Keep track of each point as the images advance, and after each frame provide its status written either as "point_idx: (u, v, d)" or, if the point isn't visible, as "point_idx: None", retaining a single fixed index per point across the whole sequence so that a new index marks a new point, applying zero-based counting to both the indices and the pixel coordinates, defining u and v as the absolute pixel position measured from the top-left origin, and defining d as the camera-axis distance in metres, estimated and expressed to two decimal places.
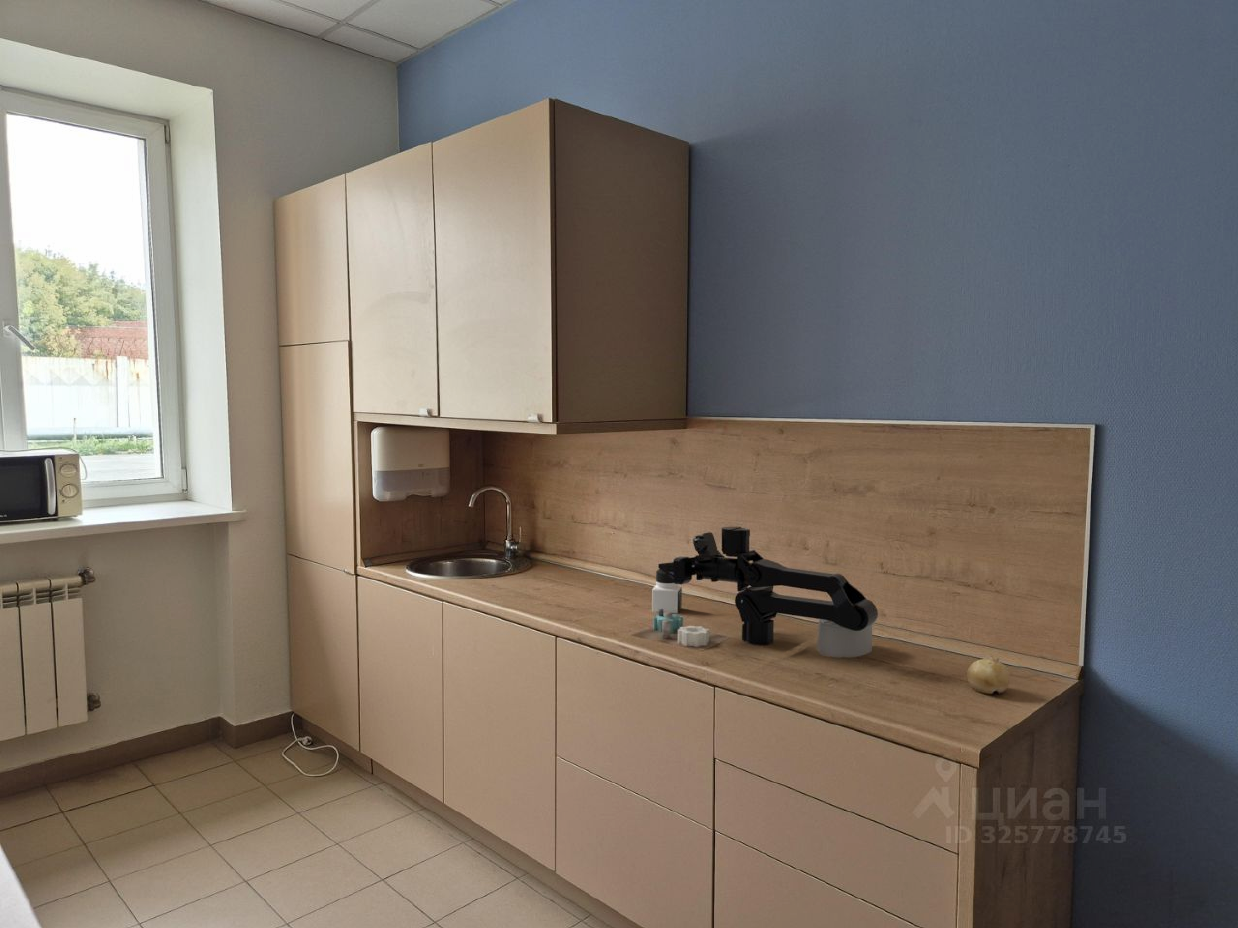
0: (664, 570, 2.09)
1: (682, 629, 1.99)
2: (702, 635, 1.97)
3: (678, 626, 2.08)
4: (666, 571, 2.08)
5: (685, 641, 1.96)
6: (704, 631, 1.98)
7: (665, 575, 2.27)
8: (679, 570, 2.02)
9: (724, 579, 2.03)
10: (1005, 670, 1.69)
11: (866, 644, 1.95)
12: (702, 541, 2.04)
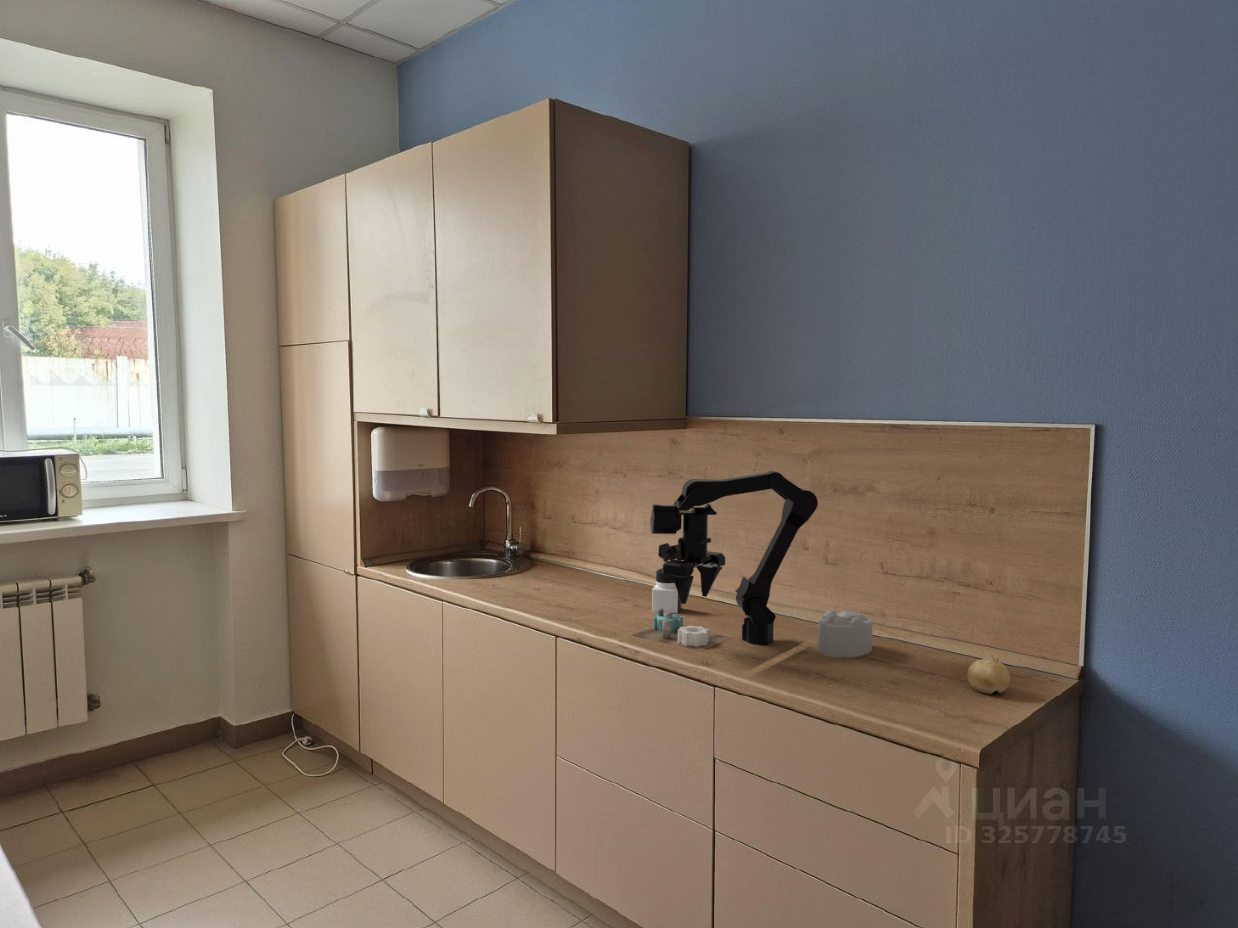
0: (684, 595, 1.94)
1: (682, 629, 1.99)
2: (702, 635, 1.97)
3: (678, 626, 2.08)
4: (684, 592, 1.93)
5: (685, 641, 1.96)
6: (704, 631, 1.98)
7: (665, 575, 2.27)
8: (671, 567, 1.91)
9: (705, 529, 1.96)
10: (1005, 670, 1.69)
11: (866, 644, 1.95)
12: (660, 546, 1.99)
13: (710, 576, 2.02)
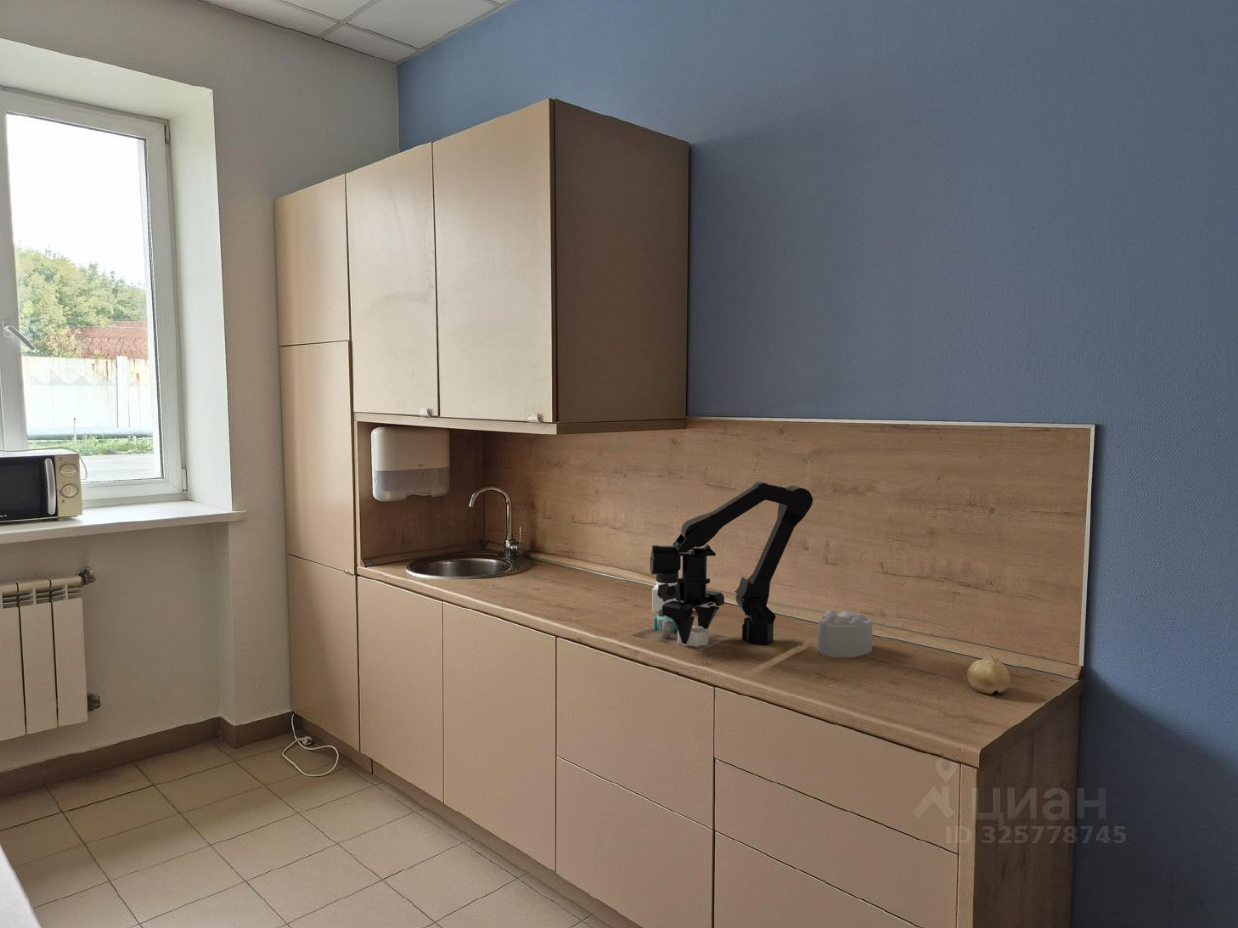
0: (685, 635, 1.95)
1: None
2: (702, 635, 1.97)
3: None
4: (685, 632, 1.95)
5: None
6: (704, 631, 1.98)
7: (665, 575, 2.27)
8: (670, 609, 1.92)
9: (704, 570, 1.97)
10: (1005, 670, 1.69)
11: (866, 644, 1.95)
12: (659, 587, 1.99)
13: (707, 616, 2.02)
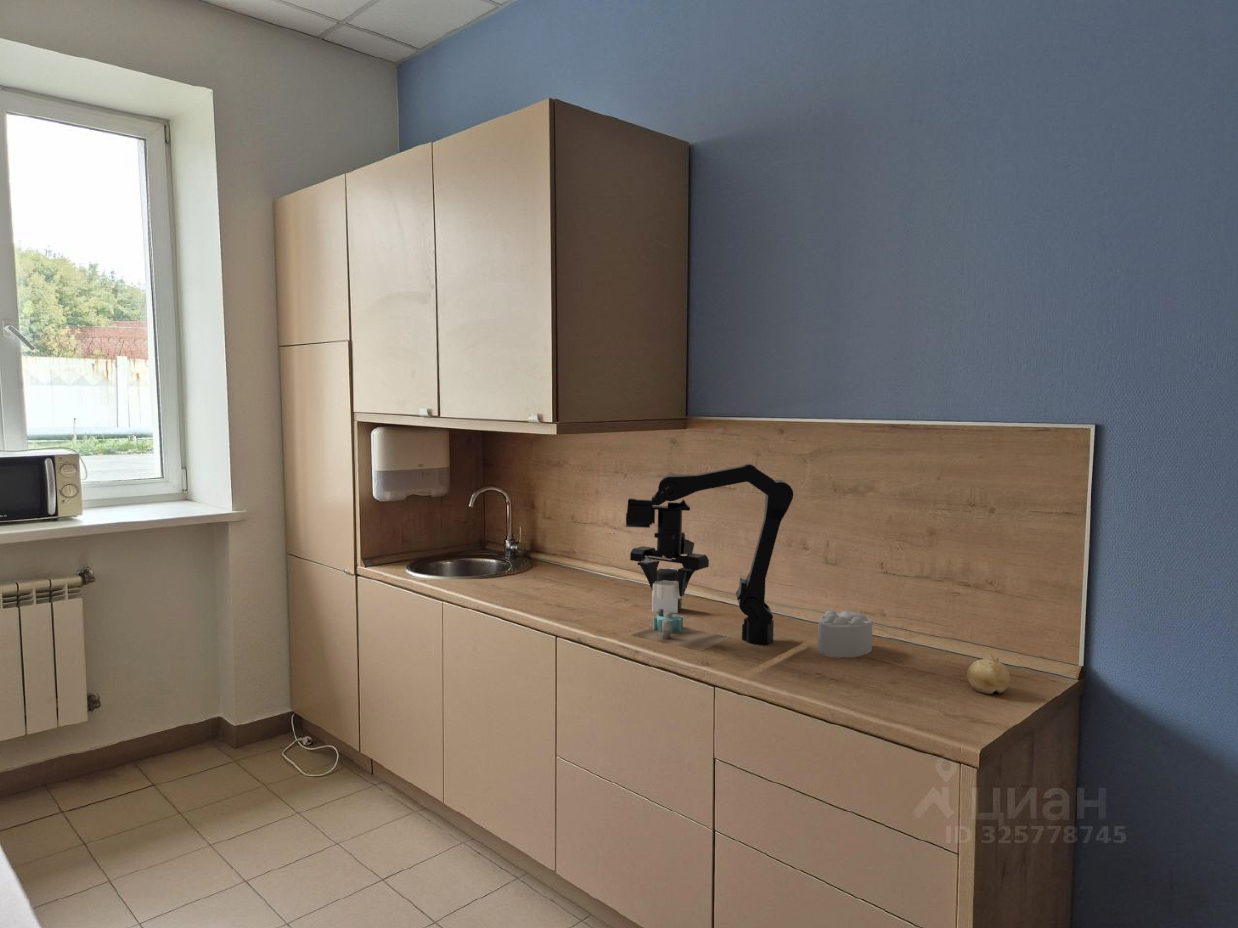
0: None
1: (667, 581, 2.04)
2: None
3: (678, 626, 2.08)
4: None
5: None
6: (663, 585, 1.99)
7: (665, 575, 2.27)
8: None
9: (678, 524, 1.99)
10: (1005, 670, 1.69)
11: (866, 644, 1.95)
12: None
13: None
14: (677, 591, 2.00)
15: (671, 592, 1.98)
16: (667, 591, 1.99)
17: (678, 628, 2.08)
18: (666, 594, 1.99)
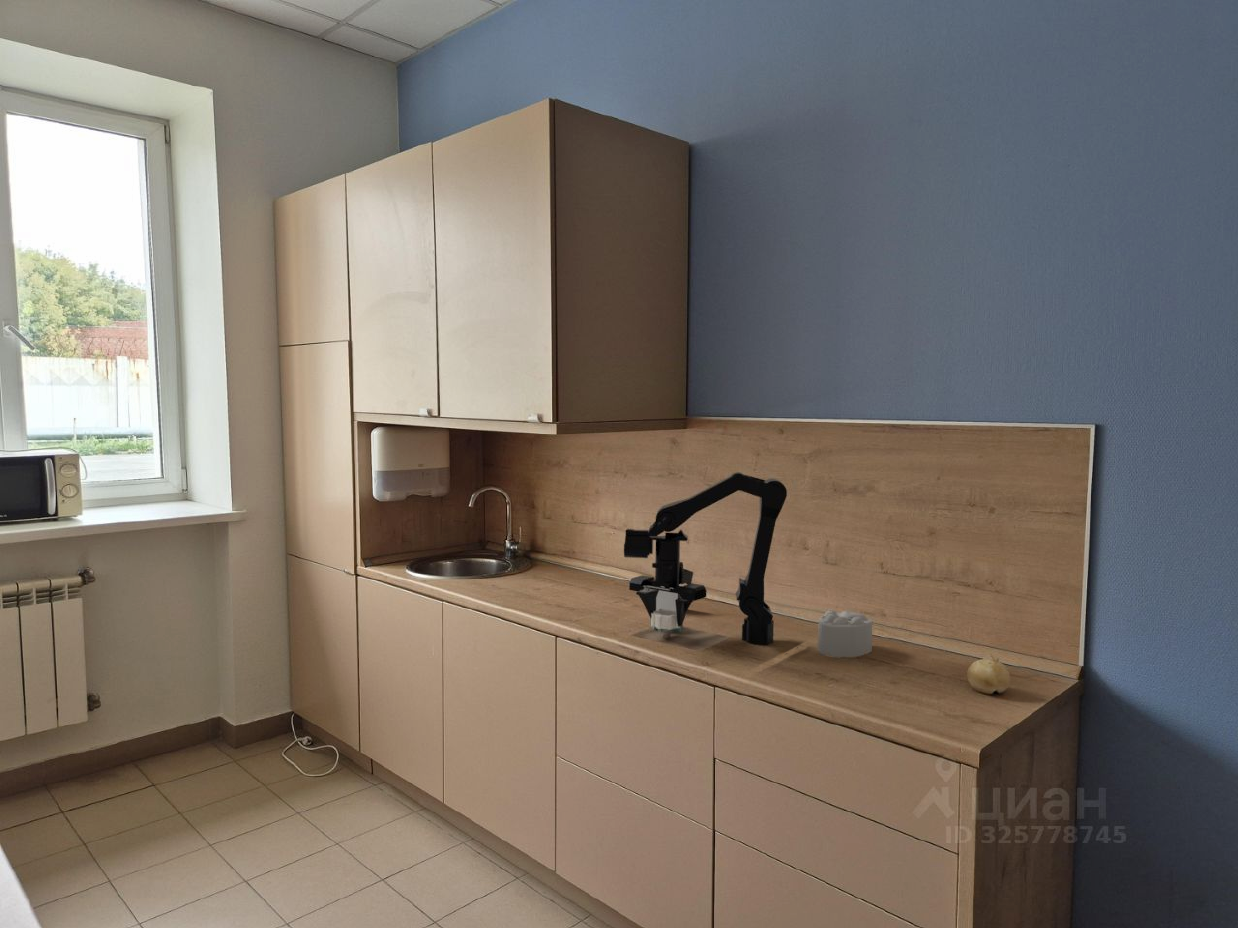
0: None
1: (666, 610, 2.05)
2: (657, 617, 2.01)
3: None
4: None
5: None
6: (661, 615, 2.00)
7: None
8: None
9: (676, 554, 1.99)
10: (1005, 670, 1.69)
11: (866, 644, 1.95)
12: None
13: None
14: (675, 621, 2.00)
15: (669, 622, 1.99)
16: (665, 621, 2.00)
17: (678, 628, 2.08)
18: (664, 624, 2.00)
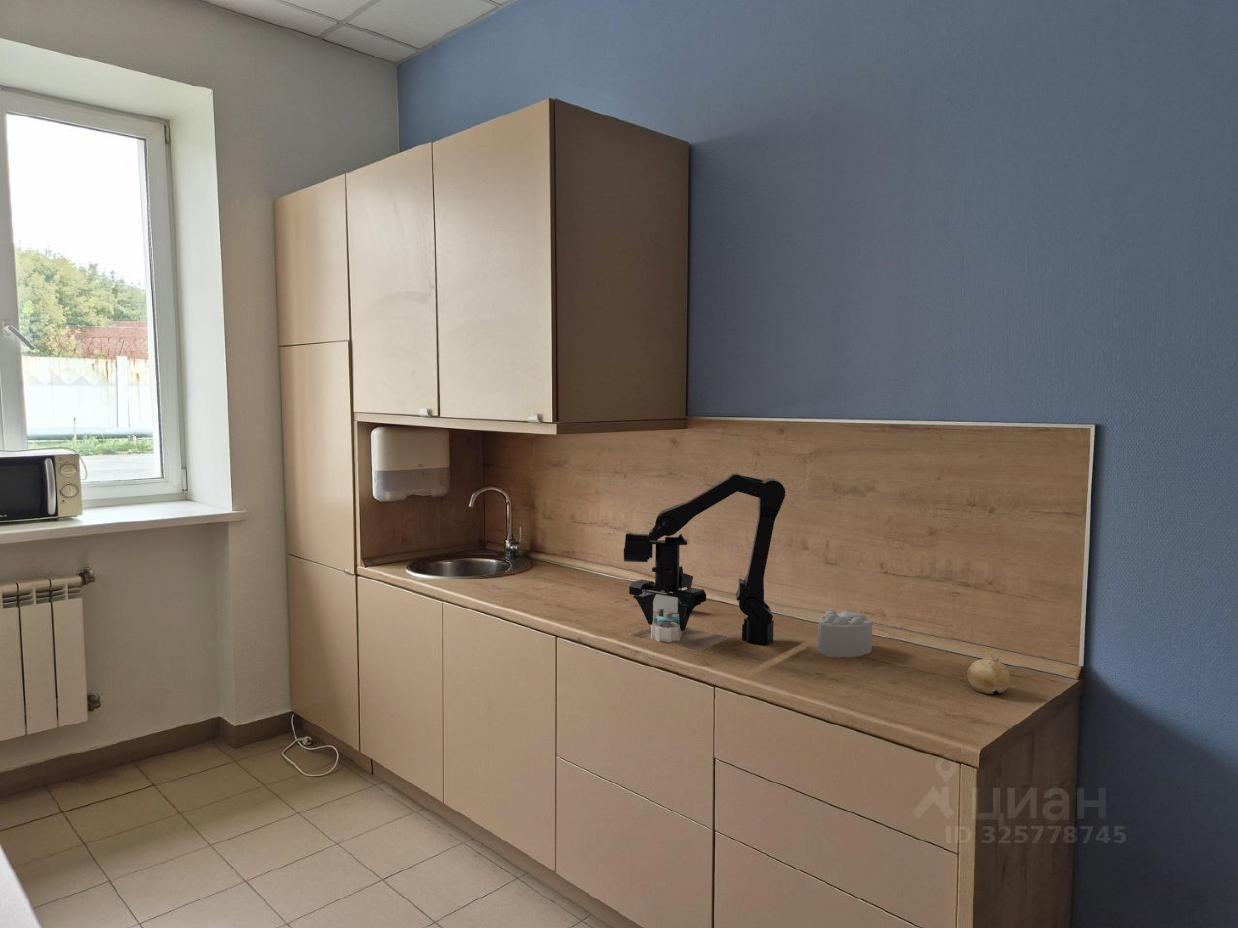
0: None
1: None
2: None
3: None
4: None
5: None
6: (661, 628, 2.00)
7: None
8: None
9: (676, 558, 1.99)
10: (1005, 670, 1.69)
11: (866, 644, 1.95)
12: None
13: None
14: (675, 633, 2.01)
15: (669, 635, 1.99)
16: (665, 634, 2.00)
17: None
18: (664, 637, 2.00)
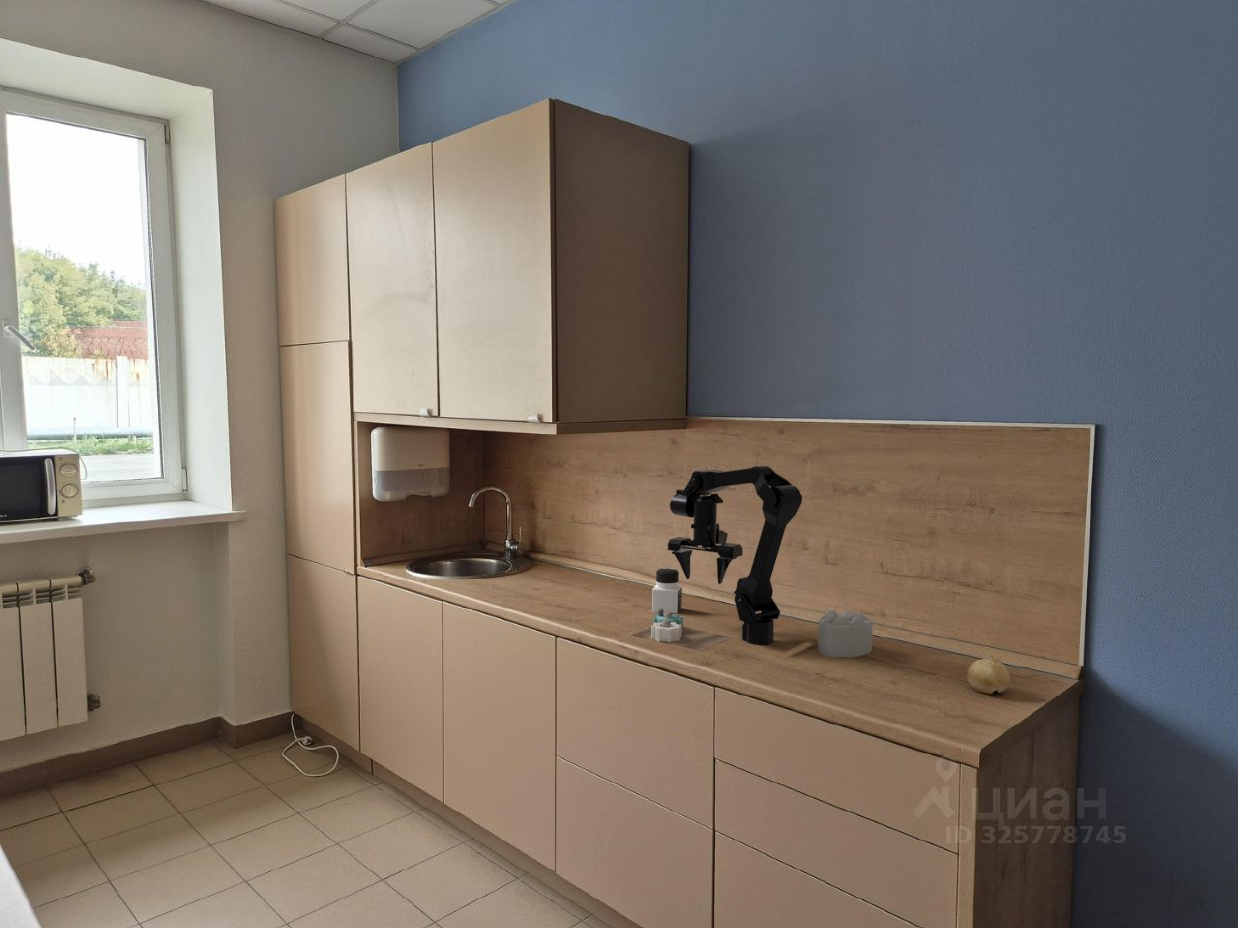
0: None
1: None
2: None
3: None
4: None
5: None
6: (661, 628, 2.00)
7: (665, 575, 2.27)
8: None
9: (705, 516, 2.11)
10: (1005, 670, 1.69)
11: (866, 644, 1.95)
12: None
13: None
14: (675, 633, 2.01)
15: (669, 635, 1.99)
16: (665, 634, 2.00)
17: None
18: (664, 637, 2.00)
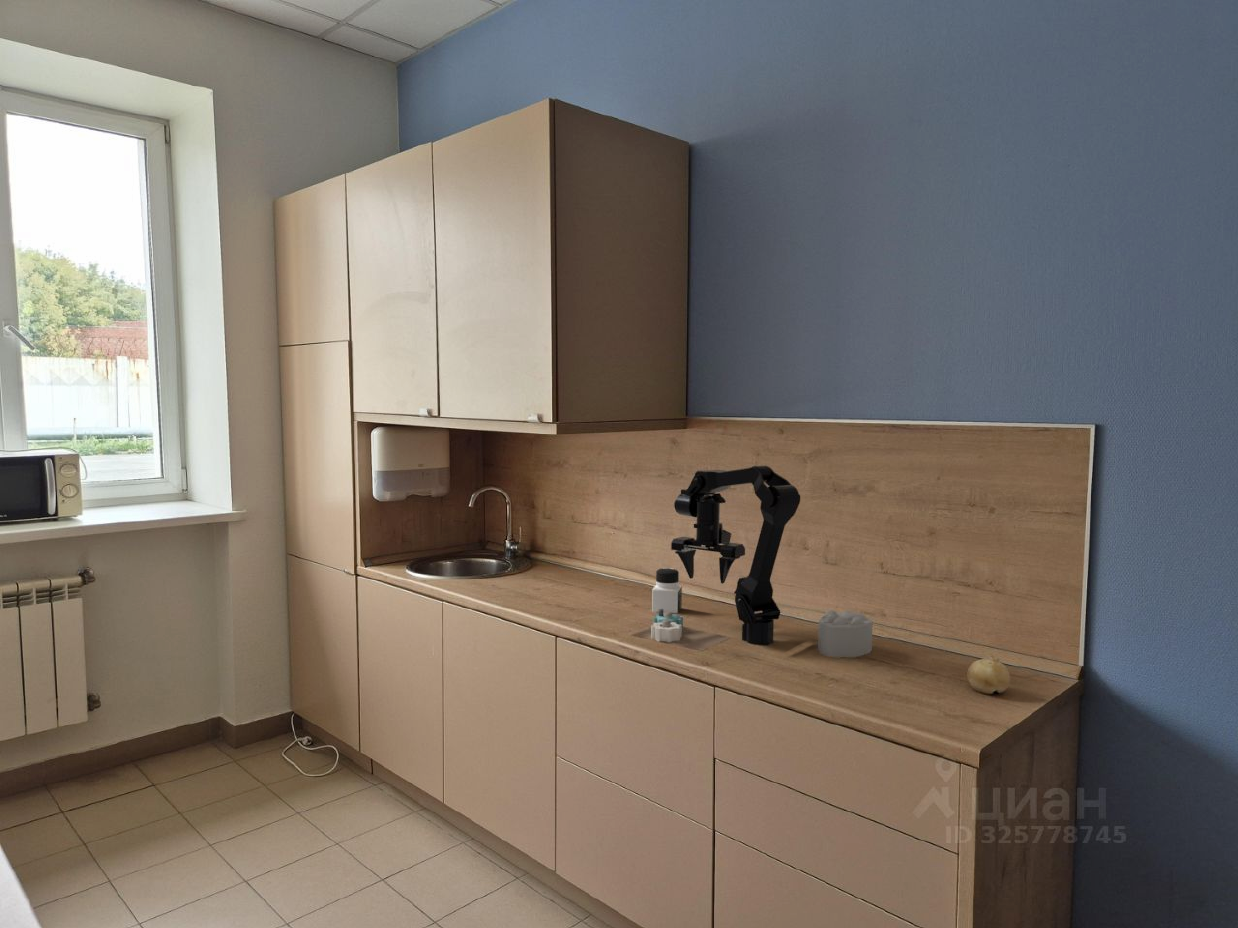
0: None
1: None
2: None
3: None
4: None
5: None
6: (661, 628, 2.00)
7: (665, 575, 2.27)
8: None
9: (707, 515, 2.12)
10: (1005, 670, 1.69)
11: (866, 644, 1.95)
12: None
13: None
14: (675, 633, 2.01)
15: (669, 635, 1.99)
16: (665, 634, 2.00)
17: None
18: (664, 637, 2.00)
